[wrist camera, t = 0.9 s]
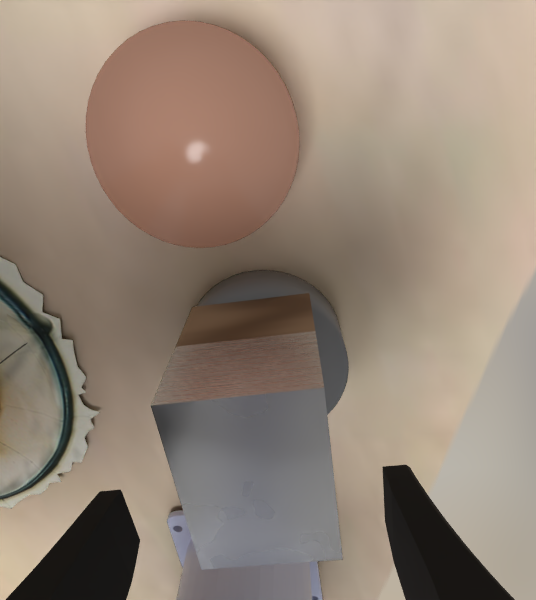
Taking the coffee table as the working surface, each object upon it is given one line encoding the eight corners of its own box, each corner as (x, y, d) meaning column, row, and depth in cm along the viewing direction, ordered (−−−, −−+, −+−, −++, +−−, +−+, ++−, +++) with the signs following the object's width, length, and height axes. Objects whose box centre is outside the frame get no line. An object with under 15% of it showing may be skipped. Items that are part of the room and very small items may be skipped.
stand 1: (305, 217, 18) (309, 234, 16) (139, 239, 18) (119, 259, 16) (284, 17, 15) (285, 1, 13) (88, 50, 16) (55, 41, 13)
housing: (309, 293, 16) (324, 387, 11) (324, 428, 19) (342, 559, 14) (192, 306, 17) (150, 405, 11) (222, 438, 19) (201, 569, 14)
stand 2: (345, 395, 21) (353, 430, 19) (205, 409, 22) (196, 445, 20) (334, 260, 19) (342, 282, 16) (173, 280, 19) (159, 305, 17)
